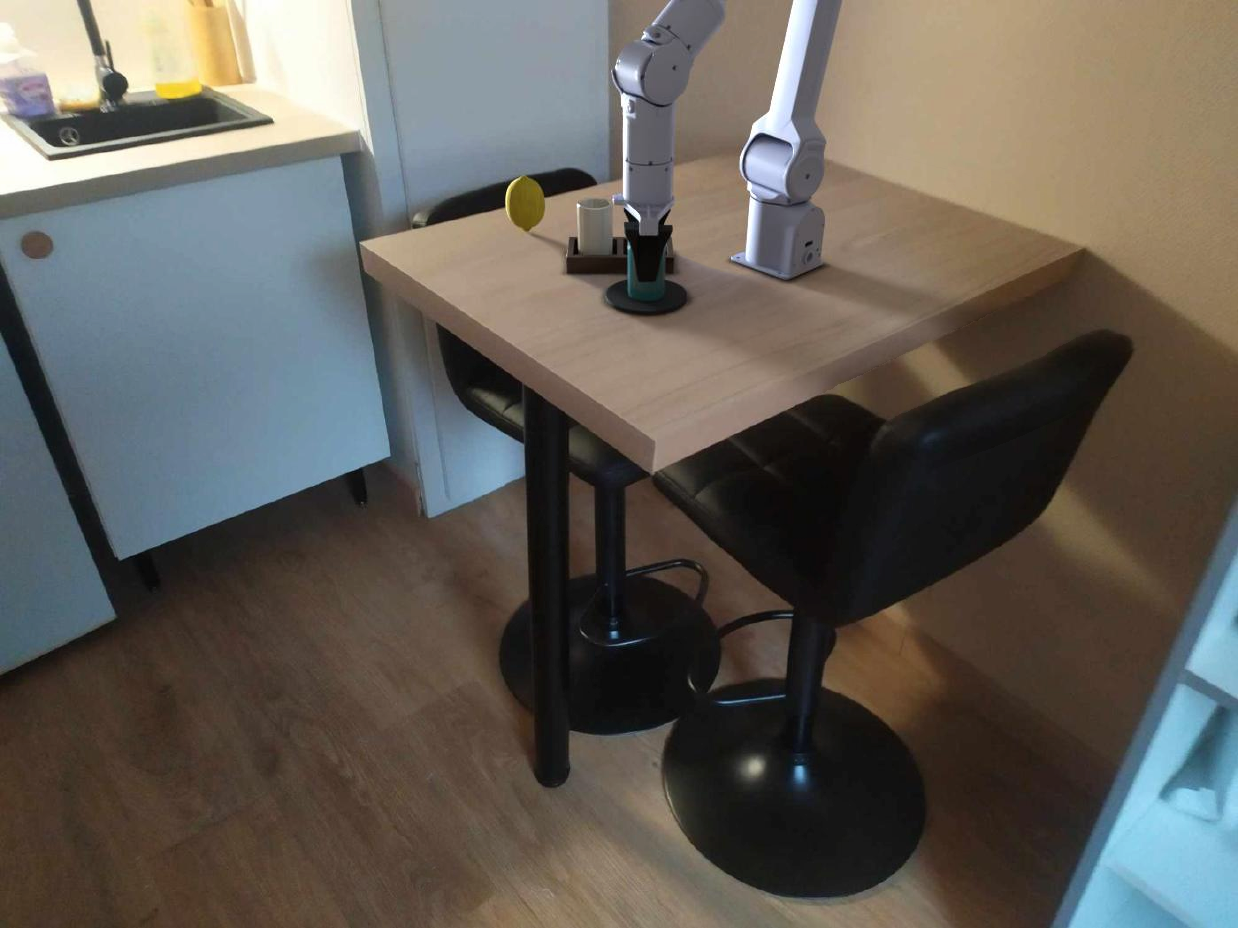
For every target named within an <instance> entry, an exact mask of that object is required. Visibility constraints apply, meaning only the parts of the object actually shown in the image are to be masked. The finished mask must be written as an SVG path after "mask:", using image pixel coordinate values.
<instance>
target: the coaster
mask: <svg viewBox="0 0 1238 928" xmlns="http://www.w3.org/2000/svg"><path fill="white" fill-rule="evenodd" d="M605 300H606V303H607V304H608V305H609V306H610V307H612V308H613V309H615V310H618V311H621V312H623V313H627V314H631V315H641V316H655V315H662V314H663V315H664V314H667V313H671V312H674V311H677V310H679V309H680V308H682V307H683V306H684V305H685V304H686V303H687V301H688V292H687V290H686V289H685V288H684V286H682V285H680V284H679V283H677V282H675V281H672V280H669V279H665V291H664V296H663V297H662V298H660V299H658V300H654V301H638V300H635V299H632V298H630V297H629V296H628V278H626V279H623V280H620V281H617V282H614V283H613V284H611V285H610V286H609V287H608V288H607V289H606V290H605Z"/></svg>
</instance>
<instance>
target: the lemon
mask: <svg viewBox="0 0 1238 928" xmlns="http://www.w3.org/2000/svg"><path fill="white" fill-rule="evenodd" d="M505 193H506V194H505V211H506V214H507V217H508V219H509V221H510V222H511V223H512V224H513V225H514V226H516V227H517V228H519V229H521V230H523V231H524V232H525V233H527V232H530V231H531V230H532V229H533V228H534V227H536V226H538V225H539V224H540V223H541V222H542V220H543V219H544V216H545V212H546V211H545V210H546V199H545V195H544V192H543V189H542V187H541V185H540V184H539V183H538V182H537V180H534V179H533V178H531V177H528V176H527V175H525V174H523V175H521V176H519V177H518V178H516V179H514V180H513V181H512V182H511V183H510V184H509V185H508V187H507V189H506V192H505Z"/></svg>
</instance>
